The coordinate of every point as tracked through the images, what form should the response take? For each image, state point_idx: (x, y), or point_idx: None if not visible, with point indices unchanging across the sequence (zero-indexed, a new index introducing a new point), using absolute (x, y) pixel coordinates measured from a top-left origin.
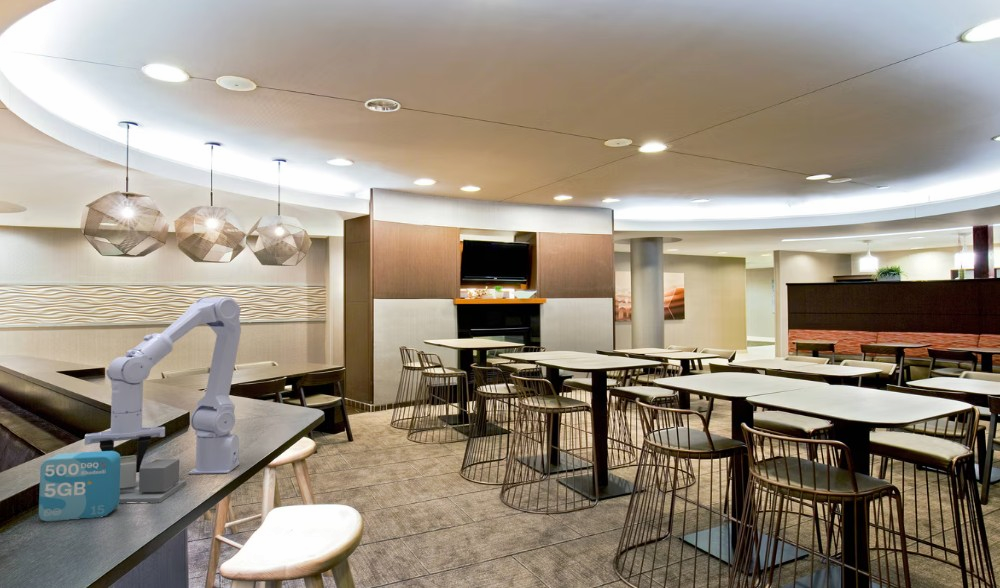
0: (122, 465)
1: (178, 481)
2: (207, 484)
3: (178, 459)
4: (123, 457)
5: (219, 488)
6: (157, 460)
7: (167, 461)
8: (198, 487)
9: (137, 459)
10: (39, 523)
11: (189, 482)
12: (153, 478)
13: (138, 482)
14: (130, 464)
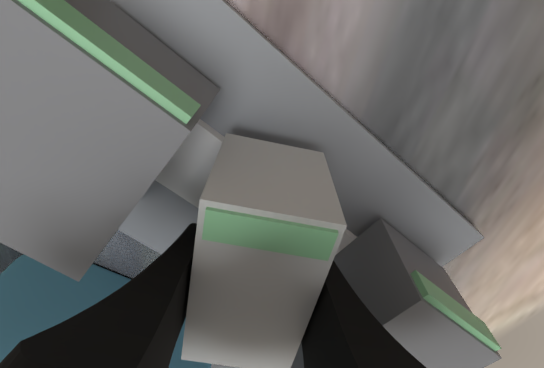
0: (222, 360)
1: (457, 231)
2: (519, 268)
3: (494, 360)
4: (253, 247)
5: (507, 324)
6: (415, 319)
7: (436, 361)
8: (478, 279)
9: (305, 357)
10: None
11: (503, 204)
12: None
13: (337, 130)
14: (260, 366)
